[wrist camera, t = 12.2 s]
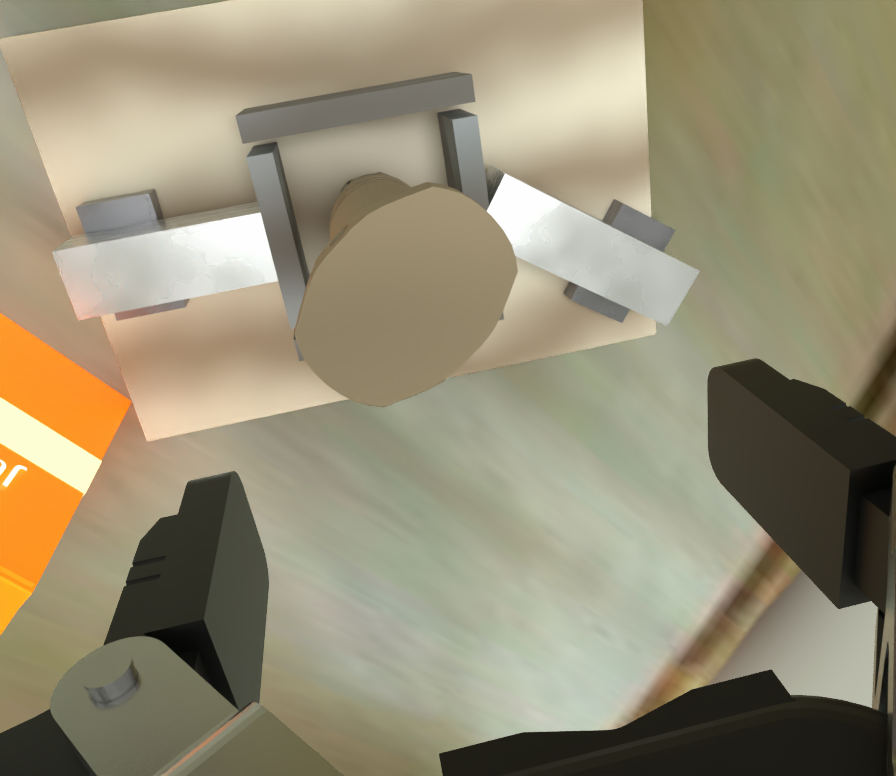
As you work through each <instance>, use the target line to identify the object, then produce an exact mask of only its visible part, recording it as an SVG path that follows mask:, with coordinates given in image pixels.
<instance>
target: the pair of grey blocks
mask: <svg viewBox="0 0 896 776" xmlns="http://www.w3.org/2000/svg"><path fill="white" fill-rule="evenodd" d="M485 177H486V185H487V192H488V200H489V208H488V210H487V212H488V211H489V210H490V211H489V212H488V213H489V214H490V215H491V216H492V217H493V218H494V219H495V220H496V222H497V223H498V224H499V225H500V226H501V228H502V229H503V230H504V232H505V234H506V236H507V237H508V239H509V241H510V243H511V244H512V247H513V251H514V254H515V256H516V257H518V258H520V259H523V260H525V261H527V262H529V263H531V264H533V265H536V266H538V267H540V268H542V269H544V270H546V271H549V272H551V273H553V274H555V275H557V276H559V277H562V278H564V279H566V280H568V281H569V283H568V285H567V287H566V289H565V291H564V294H565V295H566V296H567V297H568V298H569V299H570V300H572V301H574V302H576V303H578V304H580V305H583V306H585V307H587V308H589V309H591V310H594V311H596V312H598V313H600V314H602V315H605V316H607V317H609V318H611V319H613V320H616V321H618V322H620V323H623V321H624V319H625V317H626V316H627V314H628V312H629V310H630V309H631V310H633V311H635V312H637V313H639V314H642V315H644V316H646V317H648V318H650V319H652V320H655V321H657V322H659V323H661V324H663V325H665V326H668V324H669V322H670V321H671V319H672V317H673V315H674V314H675V312H676V310H677V309H678V307H679V305H680V304H681V302H682V300H683V299H684V297H685V295H686V294H687V292H688V290H689V289H690V287H691V285H692V284H693V282H694V280H695V278H696V277H697V275H698V273H699V272H700V271H699V270H697V269H696V268H694V267H692V266H690V265H688V264H687V263H685V262H683V261H681V260H680V259H678V258H676V257H674V256H672V255H670V254H668V253H666V252H664V249H665V248H666V246H667V244H668V242H669V241H670V239H671V237H672V235H673V234H674V232H675V230H674V229H672V228H670V227H668V226H666V225H664V224H662V223H660V222H659V221H657V220H655V219H653V218H651V217H649V216H647V215H645V214H643V213H641V212H639V211H637V210H635V209H633V208H631V207H629V206H627V205H625V204H623V203H621V202H619V201H617V200H615V199H614V200H613V202H612V204H611V205H610V207H609V209H608V211H607V213H606V215H605V217H604V218H603V220H600V219H598V218H596V217H594V216H592V215H590V214H588V213H586V212H584V211H582V210H580V209H578V208H576V207H574V206H572V205H570V204H568V203H566V202H564V201H562V200H560V199H558V198H556V197H554V196H552V195H550V194H548V193H546V192H544V191H542V190H540V189H538V188H536V187H534V186H532V185H530V184H528V183H526V182H524V181H522V180H520V179H518V178H516V177H514V176H512V175H510V174H508V173H506V172H504V171H502V170H500V169H498V168H496V167H494V166H492V165H490V166H489V168H488V170H487V173H486V175H485ZM76 210H77V213H78V216H79V218H80V221H81V224H82V227H83V229H84V232H85V234H80V235H75V236H72V237H71V238H69V239H68V240H67V241H65V242H64V243H63V244H61V245H60V246H59V247H57V248H56V249H55V250H53V251H52V254H53V257H54V259H55V262H56V264H57V267H58V269H59V272H60V275H61V277H62V280H63V282H64V285H65V288H66V290H67V293H68V295H69V298H70V300H71V303H72V306H73V308H74V311H75V313H76V316H77V319H78V320H82V319H87V318H92V317H97V316H102V315H107V314H112V313H114V315H115V317H116V320H117V321H119V320H124V319H129V318H134V317H140V316H145V315H150V314H155V313H160V312H165V311H170V310H175V309H180V308H185V307H186V306H187V304H188V302H189V300H190V299H189V298H194V297H199V296H204V295H209V294H214V293H219V292H224V291H229V290H235V289H240V288H245V287H250V286H255V285H260V284H265V283H270V282H275V281H278V278H277V274H276V270H275V266H274V262H273V259H272V255H271V251H270V247H269V243H268V239H267V236H266V232H265V228H264V224H263V220H262V216H261V213H260V209H259V205H258V201H256V202H251V203H246V204H240V205H235V206H230V207H224V208H219V209H214V210H208V211H203V212H198V213H192V214H187V215H182V216H176V217H171V218H166V219H164V216H163V213H162V210H161V207H160V204H159V201H158V197H157V194H156V191H155V189H152V190H146V191H141V192H135V193H130V194H124V195H119V196H114V197H108V198H103V199H97V200H92V201H86V202H83V203H81V204H80V205H78V206H77V207H76Z"/></svg>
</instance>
